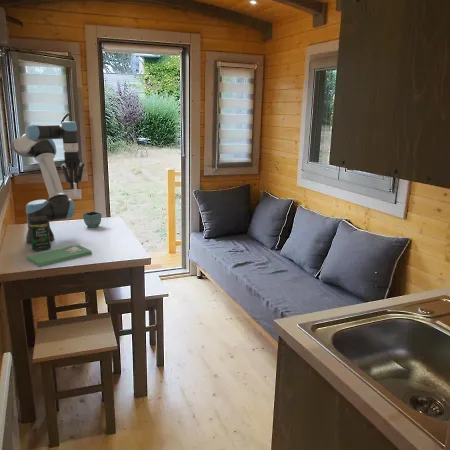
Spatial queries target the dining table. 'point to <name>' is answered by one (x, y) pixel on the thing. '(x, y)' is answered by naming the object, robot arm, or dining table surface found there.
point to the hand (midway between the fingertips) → (75, 194)
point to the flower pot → (92, 219)
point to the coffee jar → (40, 233)
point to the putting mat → (58, 255)
